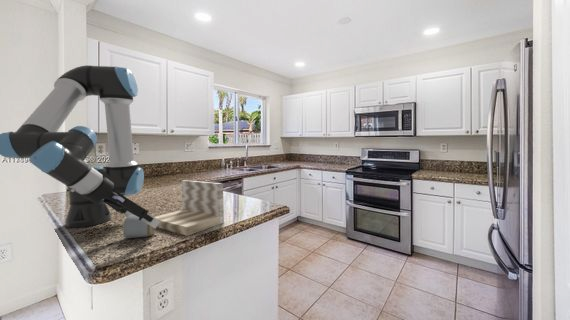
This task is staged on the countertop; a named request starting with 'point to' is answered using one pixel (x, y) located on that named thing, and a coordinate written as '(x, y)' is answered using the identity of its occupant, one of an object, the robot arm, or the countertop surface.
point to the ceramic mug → (136, 228)
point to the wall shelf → (196, 208)
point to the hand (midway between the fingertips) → (148, 222)
